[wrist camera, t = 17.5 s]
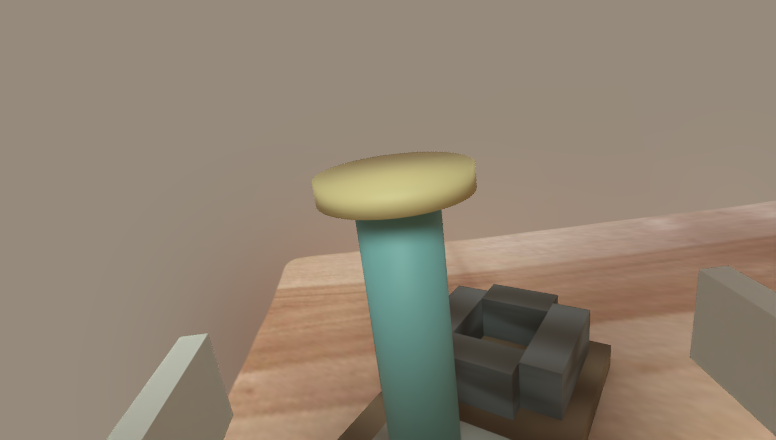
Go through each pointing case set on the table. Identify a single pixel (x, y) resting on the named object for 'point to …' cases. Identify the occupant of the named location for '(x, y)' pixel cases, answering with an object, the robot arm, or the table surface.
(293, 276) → the table surface
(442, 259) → the disc-capped post
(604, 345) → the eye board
